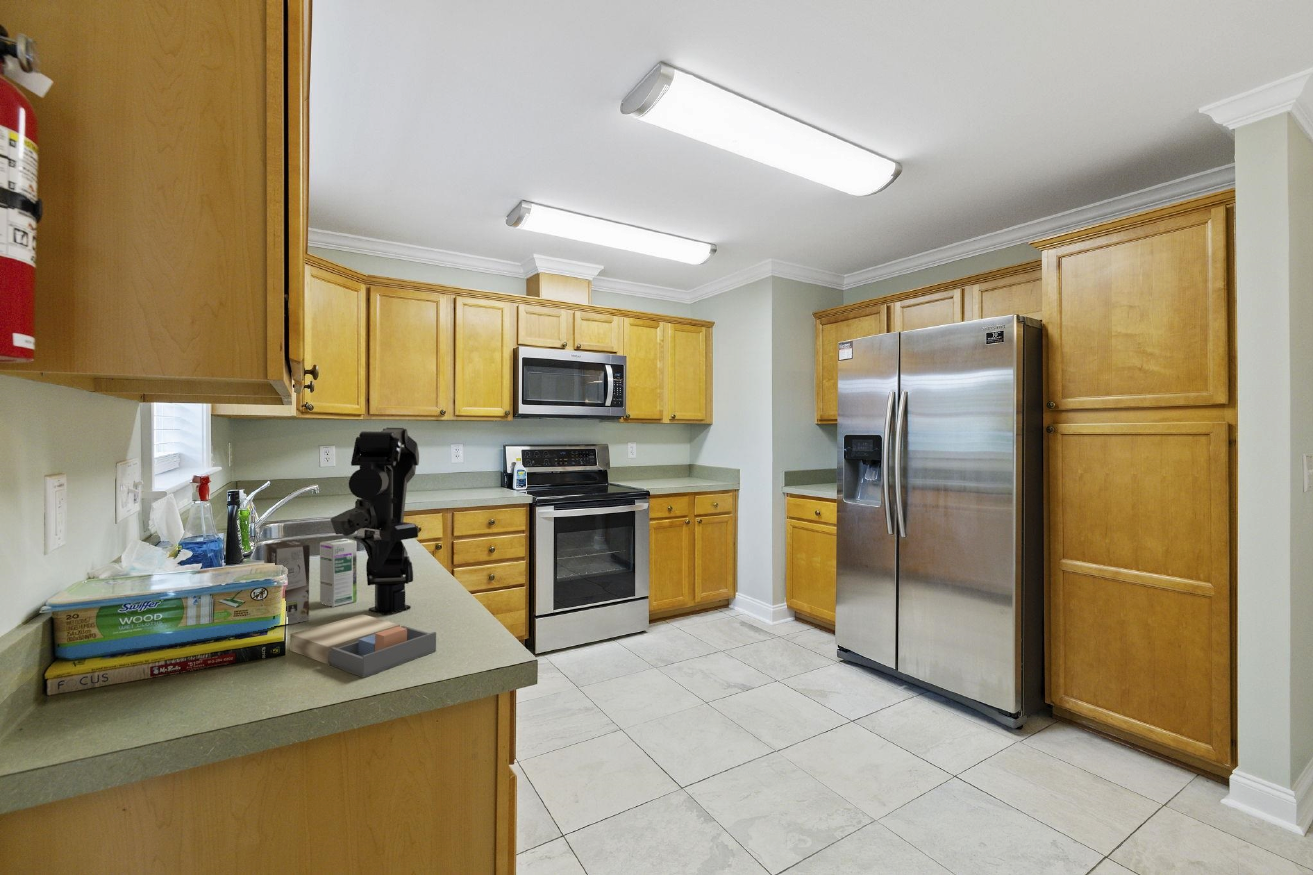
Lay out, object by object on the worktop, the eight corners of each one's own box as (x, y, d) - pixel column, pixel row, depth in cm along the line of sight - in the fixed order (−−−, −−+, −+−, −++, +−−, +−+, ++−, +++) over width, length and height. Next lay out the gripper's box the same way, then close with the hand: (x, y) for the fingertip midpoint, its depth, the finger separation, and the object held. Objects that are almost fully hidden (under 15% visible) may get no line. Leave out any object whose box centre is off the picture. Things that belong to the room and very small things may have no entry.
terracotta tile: (375, 633, 102) (384, 636, 101) (398, 626, 106) (407, 628, 105) (374, 659, 102) (383, 662, 101) (397, 651, 106) (406, 653, 105)
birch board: (290, 650, 108) (290, 633, 108) (362, 629, 120) (362, 614, 120) (327, 664, 102) (327, 646, 102) (399, 640, 114) (399, 624, 114)
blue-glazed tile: (358, 653, 105) (358, 639, 105) (381, 645, 109) (381, 631, 109) (373, 658, 103) (373, 643, 103) (396, 650, 107) (396, 636, 107)
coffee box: (310, 620, 124) (311, 544, 124) (275, 628, 120) (275, 548, 120) (296, 611, 131) (297, 538, 131) (262, 618, 126) (263, 542, 126)
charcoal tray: (329, 664, 101) (329, 644, 101) (401, 640, 113) (401, 622, 113) (364, 677, 96) (364, 656, 96) (436, 651, 108) (436, 632, 108)
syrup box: (332, 607, 134) (333, 543, 134) (318, 603, 137) (319, 541, 137) (357, 601, 139) (357, 540, 139) (343, 597, 142) (343, 537, 142)
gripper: (310, 493, 117) (310, 572, 117) (367, 500, 107) (366, 586, 107) (363, 489, 126) (363, 562, 126) (420, 495, 117) (419, 574, 117)
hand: (376, 570), depth 119 cm, fingers closed
